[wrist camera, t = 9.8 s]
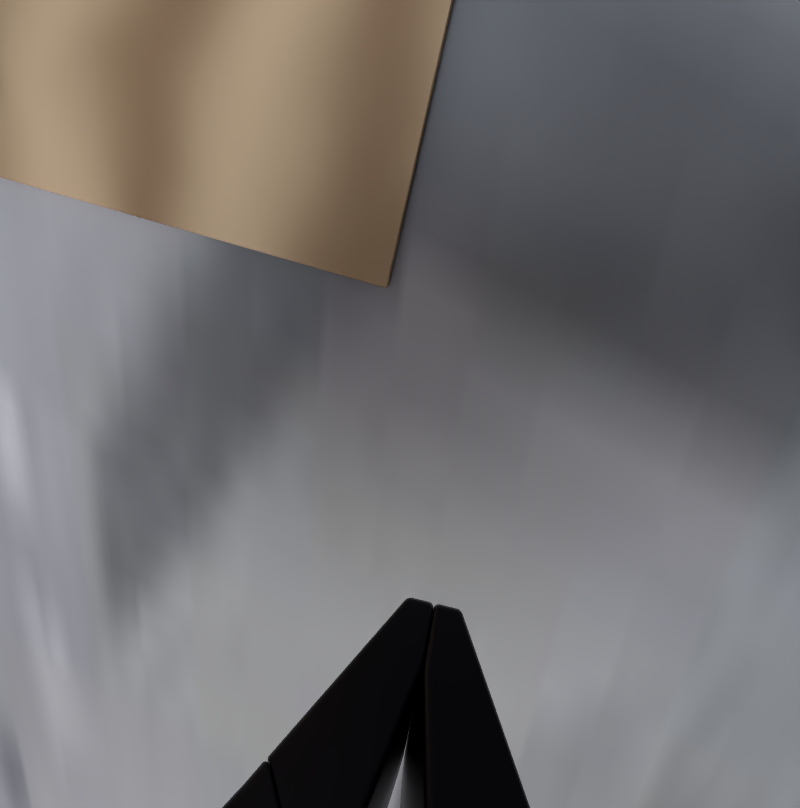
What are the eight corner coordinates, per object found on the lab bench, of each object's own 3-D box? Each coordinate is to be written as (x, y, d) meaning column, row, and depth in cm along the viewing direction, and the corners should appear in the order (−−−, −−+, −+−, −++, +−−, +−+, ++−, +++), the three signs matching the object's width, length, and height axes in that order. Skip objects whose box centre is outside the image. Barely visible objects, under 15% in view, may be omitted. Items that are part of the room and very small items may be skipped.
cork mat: (490, -163, 15) (489, -170, 14) (388, 285, 20) (385, 288, 20) (-69, -290, 16) (-83, -300, 16) (-25, 166, 21) (-35, 167, 21)
